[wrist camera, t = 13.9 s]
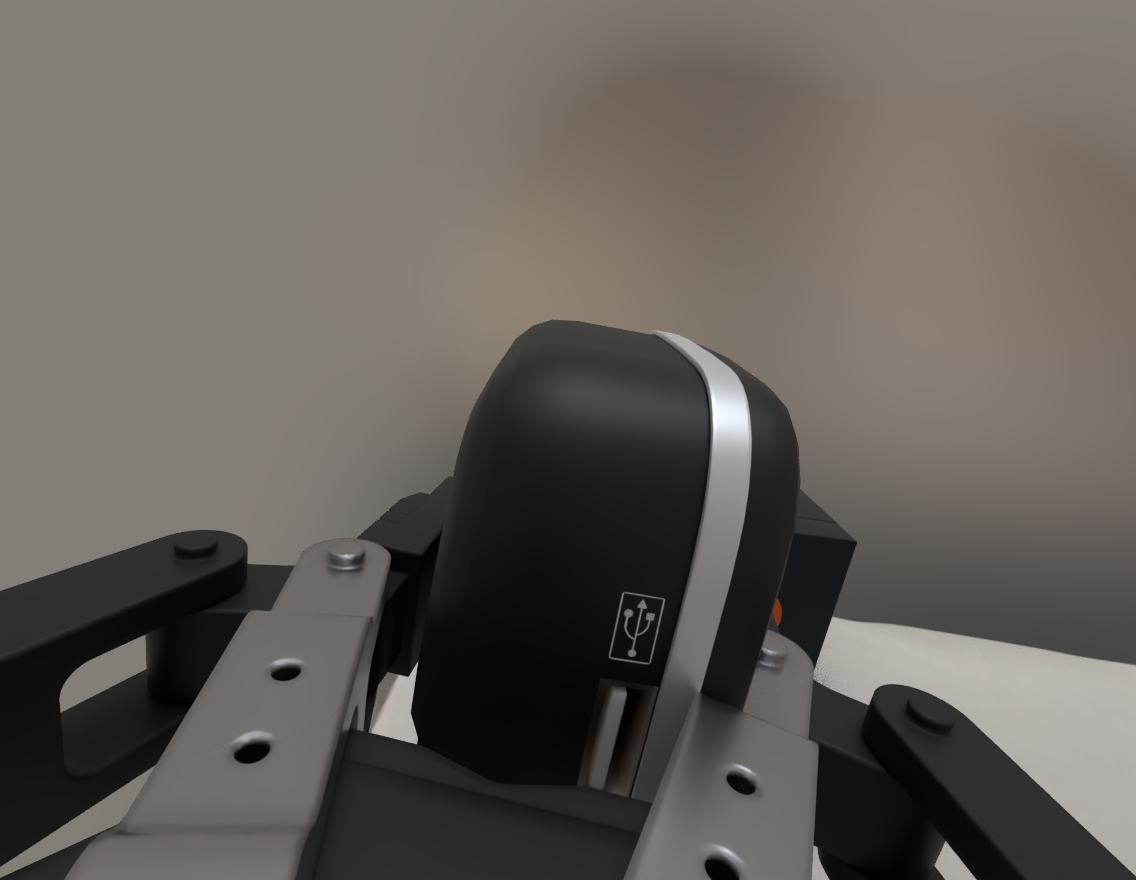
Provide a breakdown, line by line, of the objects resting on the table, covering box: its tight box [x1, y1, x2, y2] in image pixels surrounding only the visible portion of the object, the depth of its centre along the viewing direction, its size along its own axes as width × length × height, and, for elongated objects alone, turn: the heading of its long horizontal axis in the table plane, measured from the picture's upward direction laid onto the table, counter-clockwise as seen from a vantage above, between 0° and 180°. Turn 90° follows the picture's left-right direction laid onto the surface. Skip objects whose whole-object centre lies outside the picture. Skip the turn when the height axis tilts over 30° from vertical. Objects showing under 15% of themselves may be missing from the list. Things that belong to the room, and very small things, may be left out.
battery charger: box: [411, 320, 800, 803], centre depth 10 cm, size 7×4×11 cm, turn 0°
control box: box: [777, 490, 857, 669], centre depth 38 cm, size 8×12×11 cm, turn 92°
